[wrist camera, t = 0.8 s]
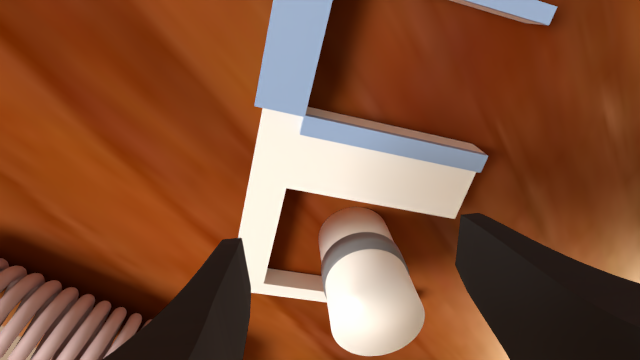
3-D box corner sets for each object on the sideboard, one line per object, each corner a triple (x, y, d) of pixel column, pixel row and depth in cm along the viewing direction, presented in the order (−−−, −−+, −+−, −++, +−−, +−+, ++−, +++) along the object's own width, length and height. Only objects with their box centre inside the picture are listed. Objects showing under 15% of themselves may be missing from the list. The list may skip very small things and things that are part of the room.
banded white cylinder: (399, 212, 23) (441, 291, 17) (376, 271, 25) (407, 361, 19) (327, 199, 23) (344, 277, 16) (309, 261, 24) (318, 352, 18)
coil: (230, 392, 23) (-127, 262, 17) (190, 444, 23) (-160, 337, 18) (234, 336, 27) (-49, 217, 21) (201, 381, 28) (-78, 278, 22)
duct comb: (532, 6, 19) (562, 6, 17) (405, 297, 26) (415, 321, 24) (287, -70, 17) (287, -80, 15) (225, 272, 24) (219, 296, 22)
